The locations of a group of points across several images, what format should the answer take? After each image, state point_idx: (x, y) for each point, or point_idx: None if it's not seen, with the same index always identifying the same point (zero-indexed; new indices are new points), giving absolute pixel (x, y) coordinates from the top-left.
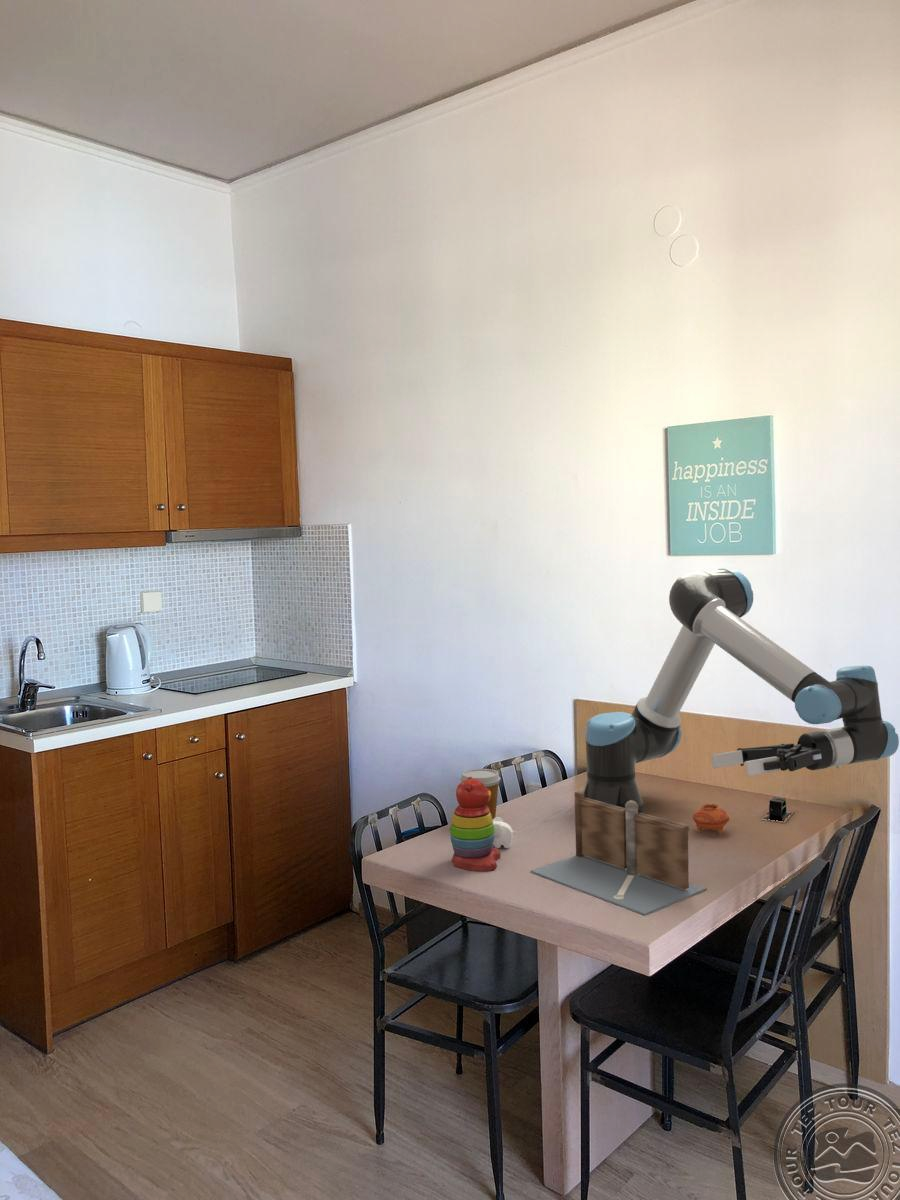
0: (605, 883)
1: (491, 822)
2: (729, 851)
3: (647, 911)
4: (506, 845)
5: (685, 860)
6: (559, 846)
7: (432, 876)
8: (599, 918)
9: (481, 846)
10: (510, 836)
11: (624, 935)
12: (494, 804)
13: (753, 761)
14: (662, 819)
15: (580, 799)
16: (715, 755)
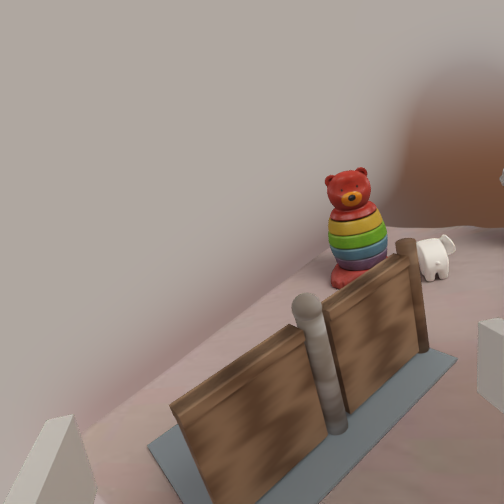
0: None
1: (351, 233)
2: None
3: (153, 449)
4: (425, 276)
5: (200, 473)
6: (466, 321)
7: (314, 262)
8: (162, 395)
9: (336, 256)
10: (425, 267)
11: (99, 423)
12: None
13: (30, 460)
14: (245, 366)
15: (392, 254)
16: (489, 332)
